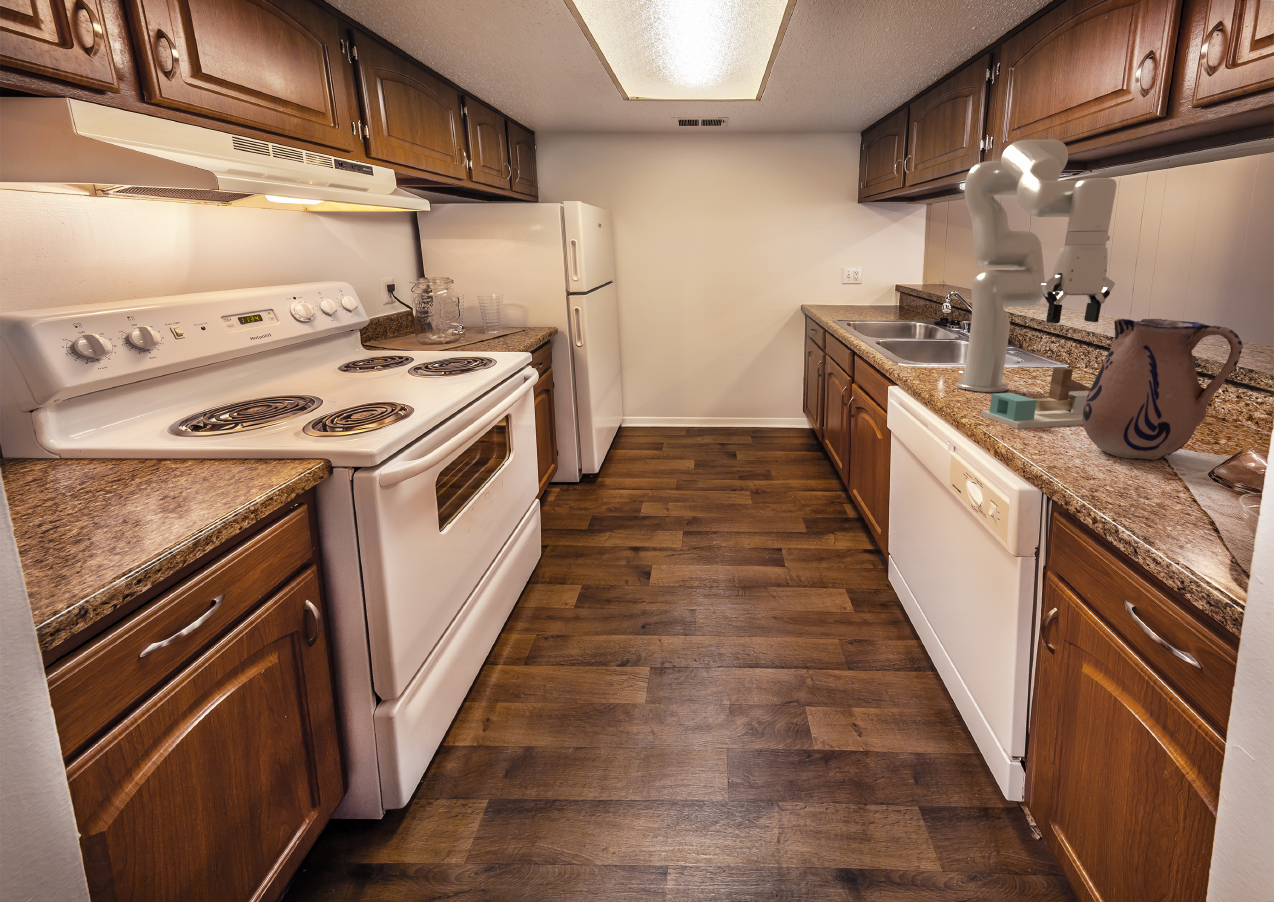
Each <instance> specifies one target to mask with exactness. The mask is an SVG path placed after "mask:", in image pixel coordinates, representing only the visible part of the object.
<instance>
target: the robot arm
mask: <svg viewBox="0 0 1274 902" xmlns="http://www.w3.org/2000/svg"><path fill="white" fill-rule="evenodd" d="M1068 159H1069V150H1068V147H1067V146H1066V144H1065V143H1064V142H1063V141H1060V140H1058V139H1022V140H1021V139H1020V140H1018V141H1014V142H1013V143H1010V144H1009V145H1008V146H1007V147H1006V148H1005V149H1004V150H1003V152H1002V153H1001V158H1000V160H987V161H982V162H979V163H977V164H975V165H974V166H972V167H971V168H970V170H969V171H968V173H967V174H966V178H965V182H964V199H965V203H966V207H967V211H968V214H969V215H970V219H971V224H972V235H973V236H972V239H973V247H974V248H973V249H974V259H975V261H976V263H977V265H978V266H979V267H981V268H985V269H991V270H985V271H982V272H980V273H979V274H978V275H976V276H975V277H974V279H973V281H972V284H971V308H972V309H971V322H970V329H969V337H968V344H967V345H968V346H967V352H966V361H965V365H964V366H965V368H964V369H963V370H959V371H958V372H957V373H958V375H959V376H961V377H962V378H961V380H958V381H957V383H956V386H957V387H958V388H959V389H963V390H965V389H966V391H972V392H979V393H980V392H981V393H1003V392H1005V391H1007V390H1008V388H1009V387H1008V384H1007V383H1003V376H1004V370H1005V364H1006V359H1007V358H1006V356H1007V351H1008V344H1009V338H1010V337H1009V336H1010V332H1011V331H1010V329H1011V322H1010V319H1009V317H1008V314H1007V313H1006V311H1005V309H1004V308H1010V307H1011V308H1014V307H1016V308H1017V307H1018V308H1021V307H1034V306H1036V305H1037V304H1039V302H1040V301H1042V299H1043V297H1044V299H1045V300H1046V301H1045V303H1046V304H1047V305H1048V308H1047V312H1046V313H1047V314H1046V320H1045V321H1046V323H1050V324H1059V323H1060V322H1061V317H1062V310H1063V304H1061V303H1062V302H1063V300H1064V299H1065V298H1066V297H1067V296H1086V297H1087V299H1088V300H1089V302H1087V303H1086V308H1085V313H1084V318H1083V319H1084V321H1085V322H1090V323H1098V322H1099V321H1100V320H1099V319H1100V313H1101V309H1102V304H1104V303H1105V302H1106V299H1107V298H1108V297H1109V296H1110V295H1111V291H1113V288H1114V287H1115V285H1116V283H1115V282H1114V281H1113V280H1112V279H1110V278H1108V276H1107V270H1108V247H1107V242H1109V241H1110V239H1111V238H1110V234H1109V229H1110V225H1111V220H1112V219H1111V218H1112V213H1113V209H1114V208H1113V207H1114V203H1115V198H1116V192H1117V181H1116V180H1115V179H1113V178H1111V177H1093V178H1084V179H1080V180H1059V178H1060V176H1061V175H1062V172H1063V170H1064V169H1065V167H1066V165H1067V163H1068ZM995 196H1016V197H1017V203H1018V204H1019V206H1020V207H1022V209H1023V210H1025V212H1027V213H1028V214H1029V215H1031V216H1034V217H1039V218H1068V222H1067V227H1066V235H1065V239H1064V240H1065V241H1064V246H1063V247H1060V249H1059V251H1058V253H1057V256H1056V260H1055V262H1054V266H1053V270H1052V274H1051V278H1049V279H1048V280H1046V279H1045V269H1044V268H1045V267H1044V258H1043V248H1042V247H1043V246H1042V244H1041V243H1042V242H1041V240H1040V238H1039V237H1038V236H1037V234H1036V233H1035V232H1032V231H1028V230H1027V231H1026V230H1011V229H1010V227H1009V222H1008V221H1009V220H1008V214H1007V211H1006V209H1005V208H1004V206H1003V205H1002V204H1001V203H1000V202H999V201H998V200H997V199H996V197H995Z"/></svg>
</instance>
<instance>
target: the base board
mask: <svg viewBox="0 0 1274 902" xmlns="http://www.w3.org/2000/svg"><path fill="white" fill-rule="evenodd" d="M989 410H990V409H989ZM989 410H987V409H985V410H981V411H980V416H981V417H983V418H986V419H989V420H991V421H995V422H997V423H1000V424H1004V425H1005V426H1006V425H1007V426H1008V427H1012V428H1014V429H1035V428H1048V427H1065V426H1067V427H1068V426H1080V425H1083V415H1070V414H1067V413H1064V412H1060V411H1041V412H1039V411H1035V415H1034V420H1020V421H1012V420H1010V419H1007V418H1004V417H1001V416H998V415H995V414H992V413H989ZM1083 426H1084V425H1083Z"/></svg>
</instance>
